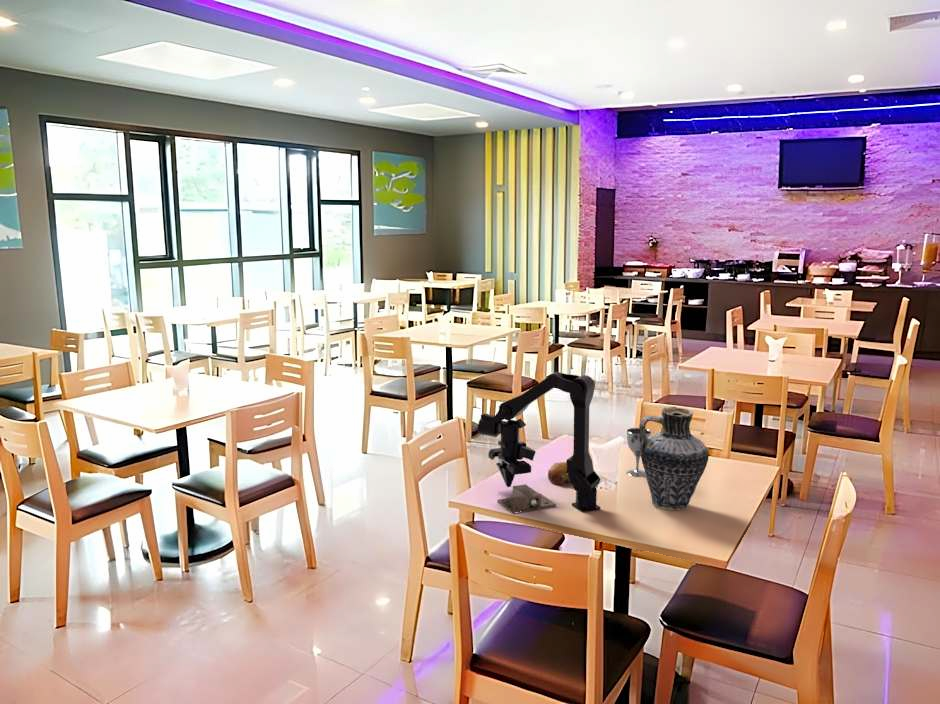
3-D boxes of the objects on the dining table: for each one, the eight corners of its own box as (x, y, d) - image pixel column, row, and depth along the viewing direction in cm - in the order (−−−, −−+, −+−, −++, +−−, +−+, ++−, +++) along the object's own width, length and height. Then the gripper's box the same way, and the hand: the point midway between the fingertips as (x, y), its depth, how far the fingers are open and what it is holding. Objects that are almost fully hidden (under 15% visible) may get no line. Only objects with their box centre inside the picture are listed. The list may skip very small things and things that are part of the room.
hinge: (555, 506, 229) (556, 492, 228) (512, 513, 223) (512, 499, 222) (539, 495, 238) (540, 482, 237) (497, 502, 232) (497, 488, 231)
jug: (685, 492, 241) (690, 400, 236) (717, 515, 222) (724, 416, 217) (624, 497, 237) (628, 403, 232) (652, 521, 218) (657, 419, 213)
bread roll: (577, 488, 255) (577, 464, 257) (578, 485, 245) (579, 460, 248) (547, 487, 256) (548, 463, 258) (548, 484, 246) (548, 459, 248)
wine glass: (631, 478, 255) (633, 434, 252) (621, 470, 262) (623, 428, 260) (653, 476, 256) (655, 433, 254) (642, 469, 264) (644, 427, 262)
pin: (539, 507, 226) (540, 497, 225) (530, 509, 225) (530, 499, 224) (521, 494, 236) (521, 485, 236) (512, 496, 235) (512, 486, 235)
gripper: (547, 444, 233) (545, 493, 235) (518, 429, 249) (517, 474, 252) (514, 448, 228) (513, 497, 231) (488, 432, 245) (487, 478, 248)
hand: (508, 486), depth 240 cm, fingers closed
